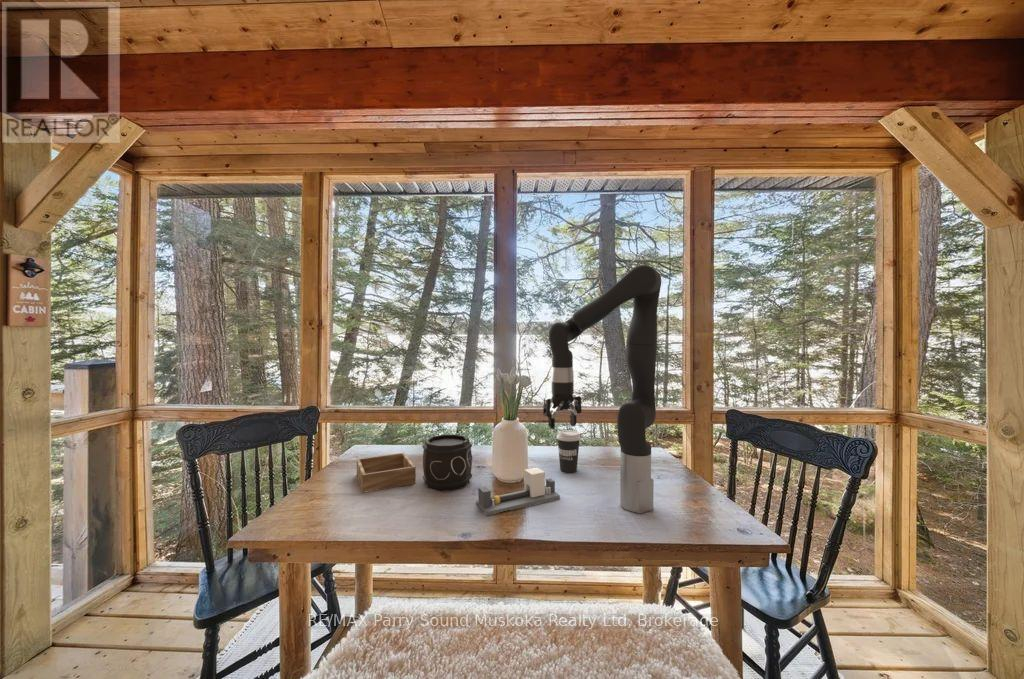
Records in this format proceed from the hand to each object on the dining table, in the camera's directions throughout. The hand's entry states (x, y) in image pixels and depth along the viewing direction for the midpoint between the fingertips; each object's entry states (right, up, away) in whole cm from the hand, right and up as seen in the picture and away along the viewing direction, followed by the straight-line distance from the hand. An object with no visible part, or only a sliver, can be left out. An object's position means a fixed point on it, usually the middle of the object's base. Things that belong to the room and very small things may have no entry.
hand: (562, 427), depth 136 cm
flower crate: (-65, -22, +11) cm, 69 cm away
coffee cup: (+5, -22, +20) cm, 30 cm away
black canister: (-41, -22, +8) cm, 47 cm away
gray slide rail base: (-15, -22, -8) cm, 28 cm away
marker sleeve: (-10, -21, -5) cm, 24 cm away
